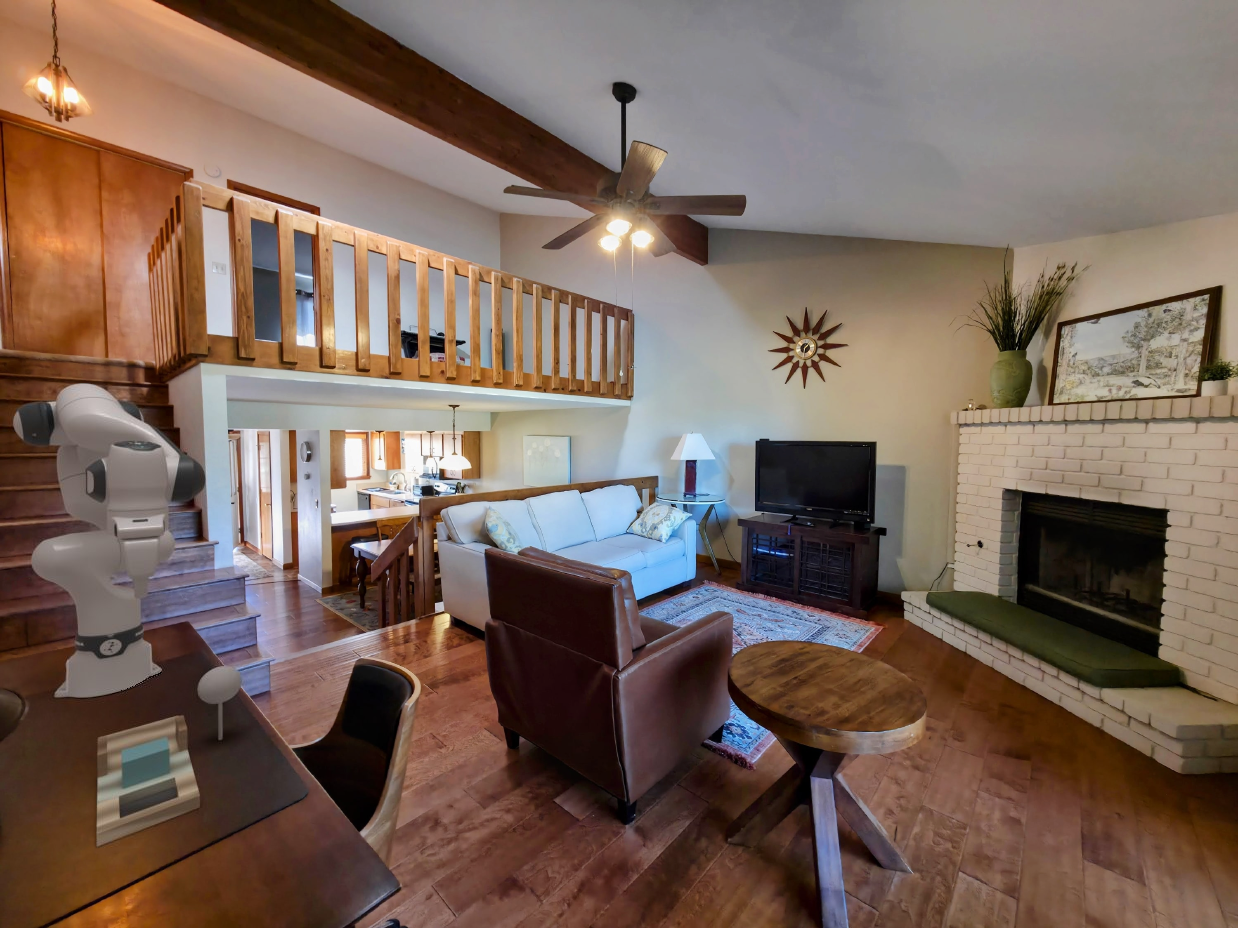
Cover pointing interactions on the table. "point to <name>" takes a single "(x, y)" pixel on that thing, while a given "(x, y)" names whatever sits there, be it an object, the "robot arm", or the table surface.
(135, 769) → the block
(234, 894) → the table surface
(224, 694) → the lollipop
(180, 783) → the deck
